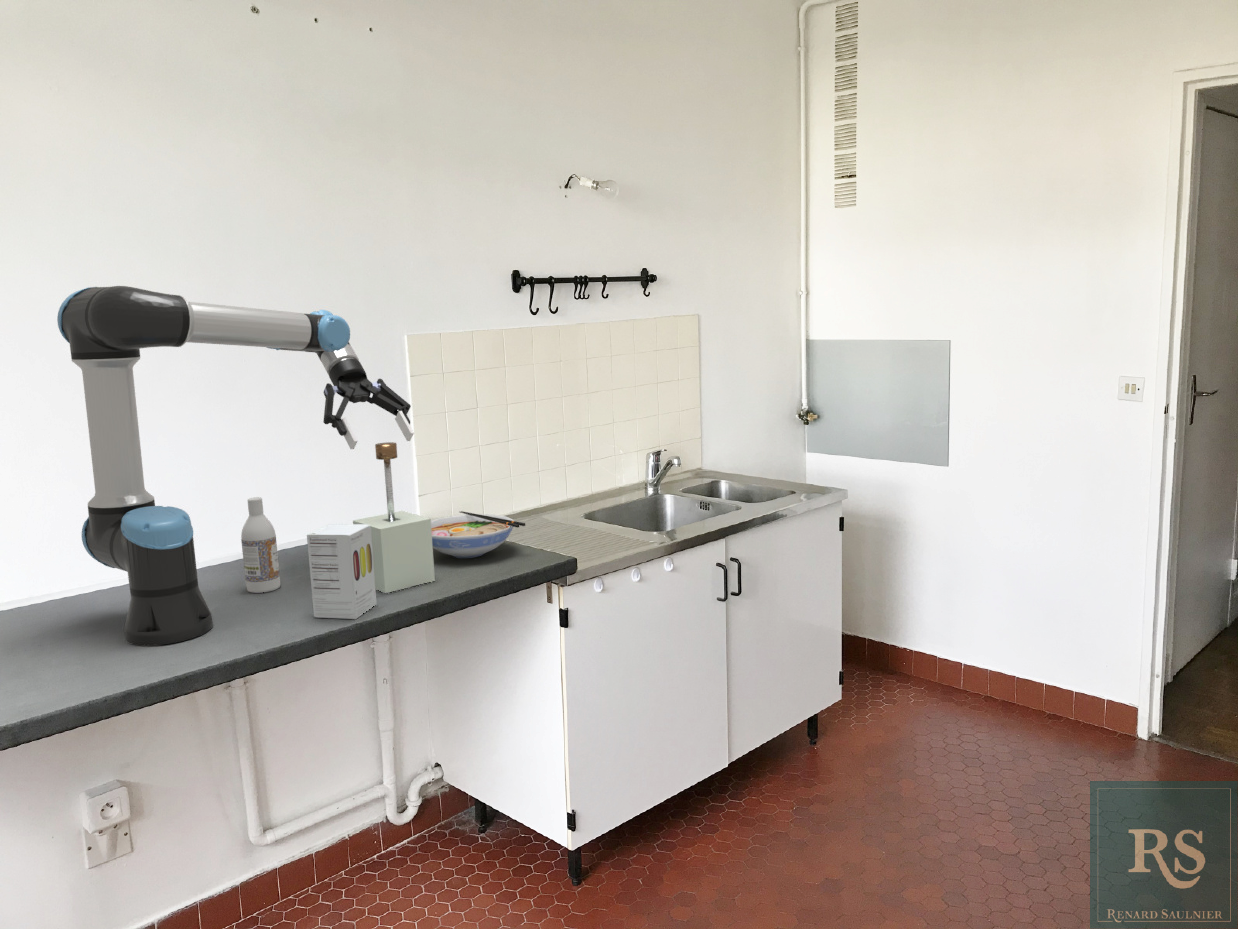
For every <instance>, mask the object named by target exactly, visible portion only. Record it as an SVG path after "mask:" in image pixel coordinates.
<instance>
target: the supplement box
mask: <svg viewBox="0 0 1238 929" xmlns="http://www.w3.org/2000/svg"><path fill="white" fill-rule="evenodd" d="M306 542H307V550H308V551H307V553H308V554H307V555H308V564H309V576H310V586H311V589H310V590H311V597H312V599H311V600H312V609H313V618H321V619H323V618H324V619H325V618H327V619H343V620H345V619H346V620H357V619H358V618H359V617H361V616H363V615H364V614H365V613H367V612H369V611H370V610H372V609H373V608H374V607H376V606H377V594H376V592H377V591H376V590H375V577H374V564H373V551H372V537H371V526H370V525H366V524H353V523H351V524H349V523H348V524H347V523H345V524H343V523H330V524H327V525H326V526H323V527H322V528H319V529H316V530H315V531H312V532H310V533H307V535H306ZM375 605H376V606H375ZM373 606H374V607H373ZM372 607H373V608H372ZM369 609H370V610H369ZM366 611H367V612H366ZM363 613H364V614H363Z"/></svg>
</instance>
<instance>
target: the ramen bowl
mask: <svg viewBox="0 0 1238 929" xmlns="http://www.w3.org/2000/svg"><path fill="white" fill-rule="evenodd" d="M459 513H460V514H457V515H453V516H445V517H444V516H443V517H439V518H436V519H431V532H432V546H433V550H436V551H438V552H440V553H442V554H444V555H449V556H453V557H454V558H457V559H474V558H478V557H481V556H483V555H485V554H486V553H489V552H491V551H493V550H494V549H497V548H498V547H499V546H501V545H502V544H503V543H504V542H505V541H506V540H507V538H508V537H509V535H510V534H511V532H512V531H513V529H514V528H516V529H517V528H520V527H525V526H526V522H521V521H516V520H514V519H513V518H510V517H508V516H507V515H506V516H505V515H497V514H485V513H484V514H483V513H473V512H467V511H464V510H463V511H462V510H461V511H459Z"/></svg>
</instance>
